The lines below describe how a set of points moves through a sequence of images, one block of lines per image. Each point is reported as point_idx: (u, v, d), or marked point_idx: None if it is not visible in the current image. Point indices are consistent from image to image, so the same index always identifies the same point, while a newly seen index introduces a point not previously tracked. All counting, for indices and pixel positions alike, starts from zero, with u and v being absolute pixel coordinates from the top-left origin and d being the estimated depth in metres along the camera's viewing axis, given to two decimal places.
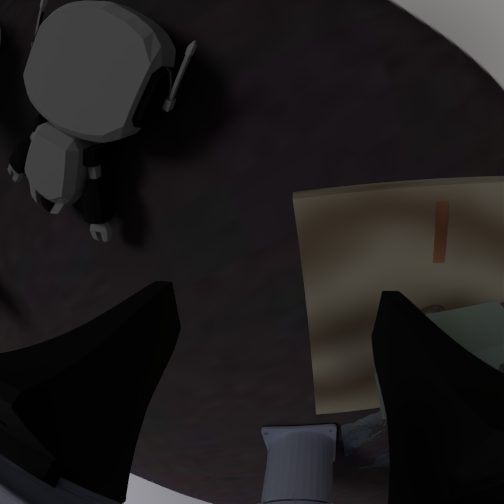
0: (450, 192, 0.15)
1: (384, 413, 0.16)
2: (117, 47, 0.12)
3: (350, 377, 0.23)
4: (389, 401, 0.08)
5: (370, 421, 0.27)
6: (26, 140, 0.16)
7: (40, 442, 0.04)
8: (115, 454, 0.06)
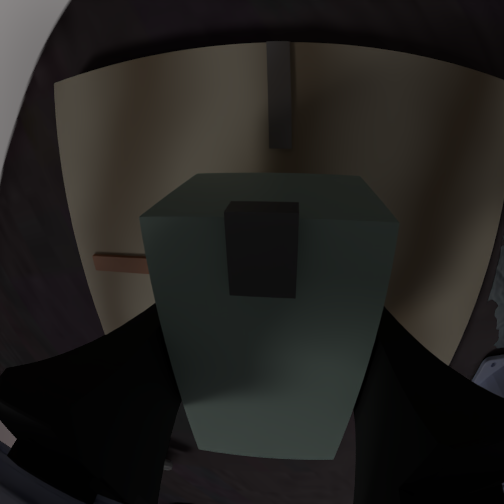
0: (85, 249, 0.14)
1: (315, 458, 0.09)
2: None
3: None
4: (357, 403, 0.08)
5: None
6: None
7: (80, 461, 0.04)
8: (149, 464, 0.06)
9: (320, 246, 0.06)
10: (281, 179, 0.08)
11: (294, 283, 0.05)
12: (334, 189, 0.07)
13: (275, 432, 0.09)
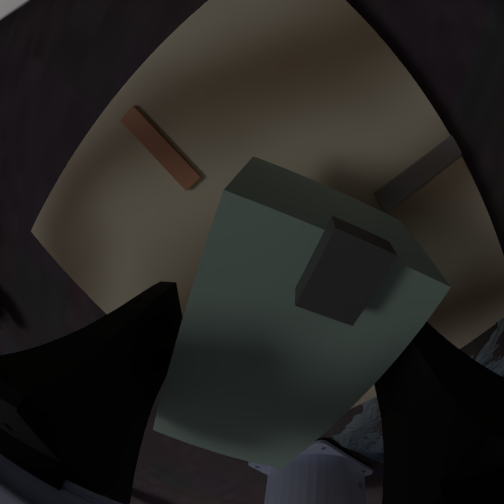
0: (131, 92, 0.10)
1: (265, 464, 0.10)
2: None
3: None
4: (383, 401, 0.08)
5: (363, 423, 0.19)
6: None
7: (46, 445, 0.04)
8: (120, 456, 0.06)
9: (385, 285, 0.06)
10: (340, 198, 0.08)
11: (360, 313, 0.05)
12: (390, 229, 0.07)
13: (244, 433, 0.09)
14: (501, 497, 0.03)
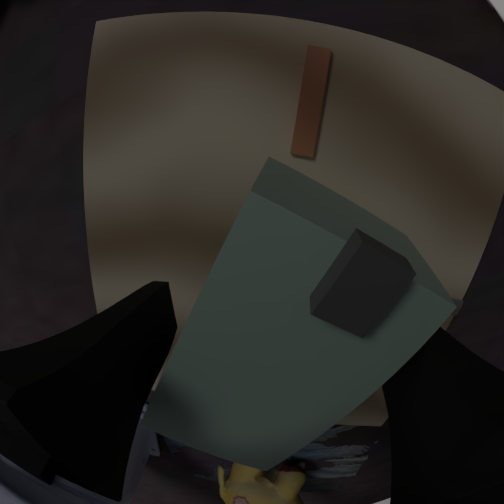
0: (339, 39, 0.09)
1: (250, 465, 0.10)
2: None
3: None
4: (391, 401, 0.08)
5: None
6: None
7: (35, 440, 0.04)
8: (111, 453, 0.06)
9: (396, 300, 0.06)
10: (353, 208, 0.08)
11: (372, 326, 0.05)
12: (399, 244, 0.07)
13: (234, 435, 0.09)
14: None
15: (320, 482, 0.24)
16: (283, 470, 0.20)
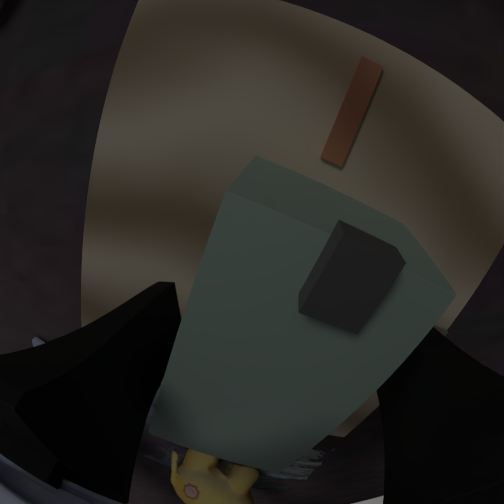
0: (392, 58, 0.08)
1: (262, 468, 0.09)
2: None
3: None
4: (384, 401, 0.08)
5: None
6: None
7: (44, 444, 0.04)
8: (118, 455, 0.06)
9: (391, 291, 0.06)
10: (344, 200, 0.08)
11: (365, 321, 0.05)
12: (394, 234, 0.07)
13: (241, 438, 0.08)
14: (502, 496, 0.03)
15: (270, 481, 0.25)
16: None
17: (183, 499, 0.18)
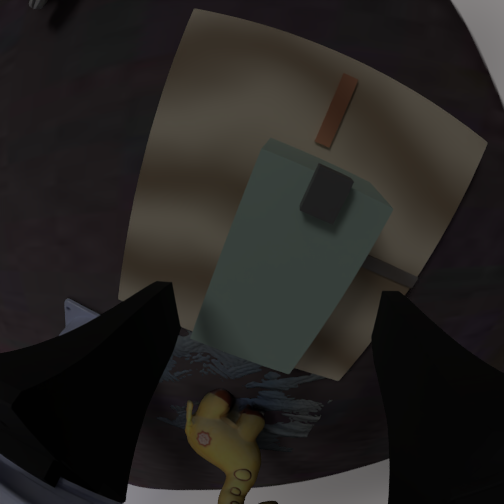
0: (365, 74, 0.13)
1: (276, 369, 0.14)
2: None
3: (166, 258, 0.19)
4: (389, 401, 0.08)
5: (175, 346, 0.25)
6: None
7: (40, 442, 0.04)
8: (115, 454, 0.06)
9: (351, 204, 0.10)
10: (327, 164, 0.13)
11: (336, 216, 0.10)
12: (358, 182, 0.12)
13: (263, 331, 0.13)
14: None
15: (273, 440, 0.30)
16: (246, 412, 0.25)
17: (196, 448, 0.23)
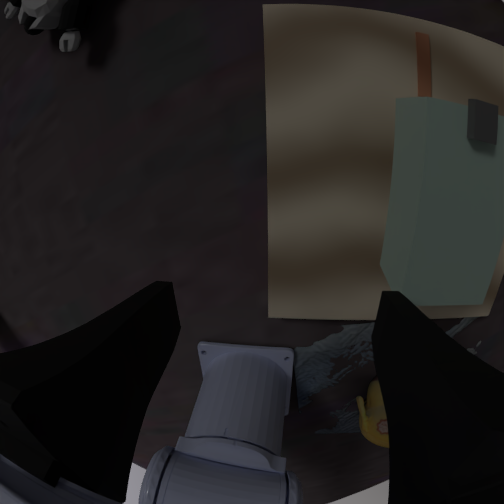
0: (430, 28, 0.12)
1: (472, 303, 0.12)
2: None
3: (317, 253, 0.19)
4: (389, 401, 0.08)
5: (332, 347, 0.24)
6: None
7: (40, 442, 0.04)
8: (115, 454, 0.06)
9: None
10: None
11: (496, 136, 0.08)
12: None
13: (460, 267, 0.12)
14: None
15: None
16: None
17: (377, 440, 0.21)
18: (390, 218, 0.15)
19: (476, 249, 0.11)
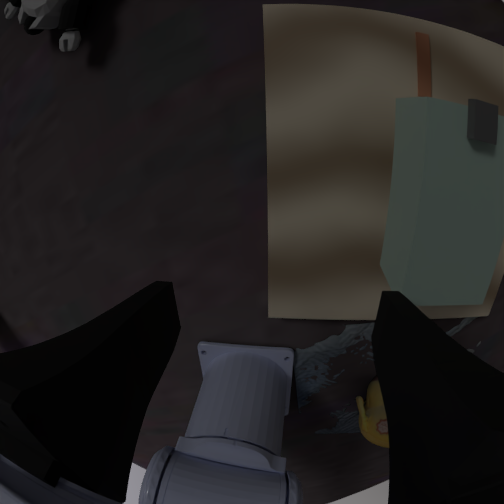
0: (430, 28, 0.12)
1: (472, 303, 0.12)
2: None
3: (317, 253, 0.19)
4: (389, 401, 0.08)
5: (331, 347, 0.24)
6: None
7: (40, 442, 0.04)
8: (115, 454, 0.06)
9: None
10: None
11: (496, 136, 0.08)
12: None
13: (460, 267, 0.12)
14: None
15: None
16: None
17: (377, 440, 0.21)
18: (390, 218, 0.15)
19: (476, 249, 0.11)
